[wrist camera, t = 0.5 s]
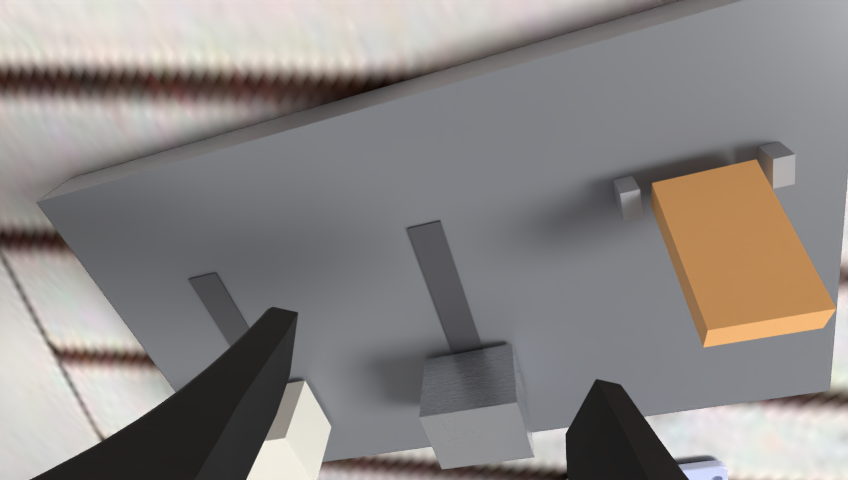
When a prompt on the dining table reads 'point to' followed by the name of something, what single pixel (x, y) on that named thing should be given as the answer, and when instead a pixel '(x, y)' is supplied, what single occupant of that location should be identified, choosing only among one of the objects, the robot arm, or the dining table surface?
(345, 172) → the control panel
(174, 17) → the dining table surface
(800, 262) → the orange toggle
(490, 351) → the grey slider
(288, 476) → the cream slider
